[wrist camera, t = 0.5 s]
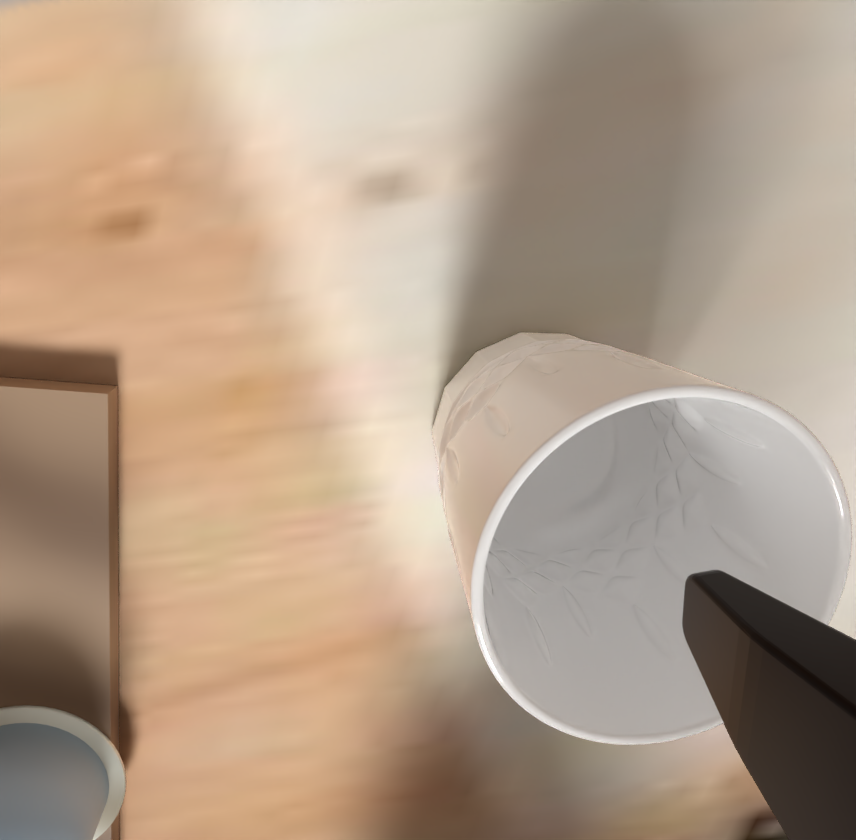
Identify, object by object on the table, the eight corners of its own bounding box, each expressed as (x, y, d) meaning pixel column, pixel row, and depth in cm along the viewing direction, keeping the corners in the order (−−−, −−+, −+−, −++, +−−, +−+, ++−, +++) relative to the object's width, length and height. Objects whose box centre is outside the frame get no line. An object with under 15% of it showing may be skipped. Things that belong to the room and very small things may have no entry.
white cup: (371, 483, 23) (399, 669, 14) (489, 266, 22) (611, 309, 12) (569, 574, 25) (712, 792, 16) (690, 380, 24) (928, 492, 14)
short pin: (109, 846, 25) (69, 963, 21) (-50, 849, 24) (-122, 971, 20) (108, 723, 23) (64, 823, 19) (-60, 722, 22) (-139, 826, 19)
